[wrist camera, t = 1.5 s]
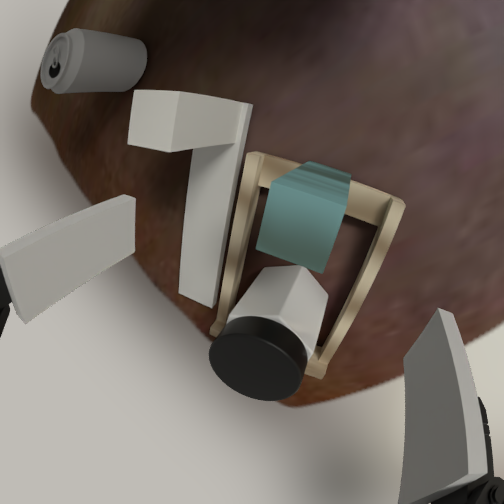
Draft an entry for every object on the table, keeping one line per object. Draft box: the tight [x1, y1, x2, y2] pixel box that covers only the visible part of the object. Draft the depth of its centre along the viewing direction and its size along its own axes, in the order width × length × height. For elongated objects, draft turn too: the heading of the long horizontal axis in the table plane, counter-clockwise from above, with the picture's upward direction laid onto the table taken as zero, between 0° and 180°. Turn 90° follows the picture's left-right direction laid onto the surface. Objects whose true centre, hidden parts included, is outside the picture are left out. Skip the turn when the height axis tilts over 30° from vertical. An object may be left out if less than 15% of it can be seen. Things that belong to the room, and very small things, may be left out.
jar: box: [209, 265, 328, 401], centre depth 26 cm, size 9×8×12 cm
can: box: [41, 28, 147, 94], centre depth 21 cm, size 8×8×12 cm
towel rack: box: [209, 151, 406, 379], centre depth 24 cm, size 22×14×12 cm
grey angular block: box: [128, 90, 253, 308], centre depth 25 cm, size 24×5×11 cm, turn 168°
